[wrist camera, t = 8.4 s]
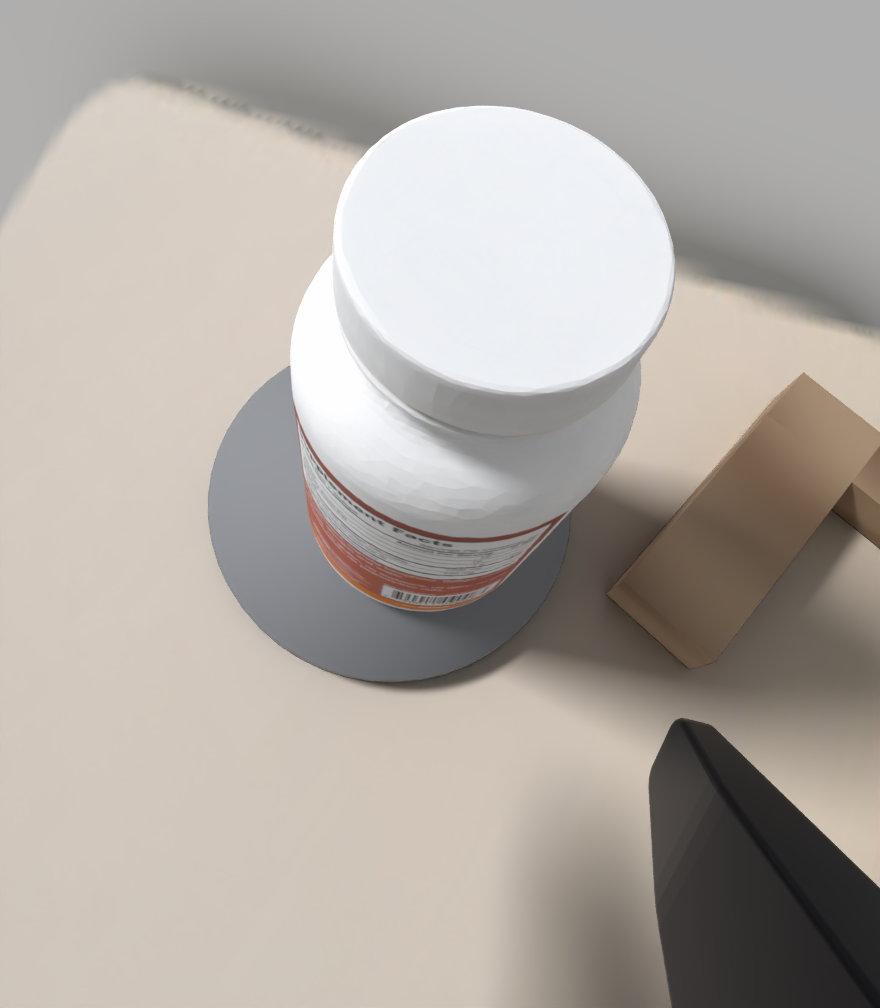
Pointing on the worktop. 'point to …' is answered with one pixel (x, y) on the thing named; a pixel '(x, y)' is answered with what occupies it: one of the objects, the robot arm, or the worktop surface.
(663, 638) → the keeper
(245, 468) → the mat
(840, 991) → the robot arm
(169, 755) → the worktop surface
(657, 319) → the pill bottle
